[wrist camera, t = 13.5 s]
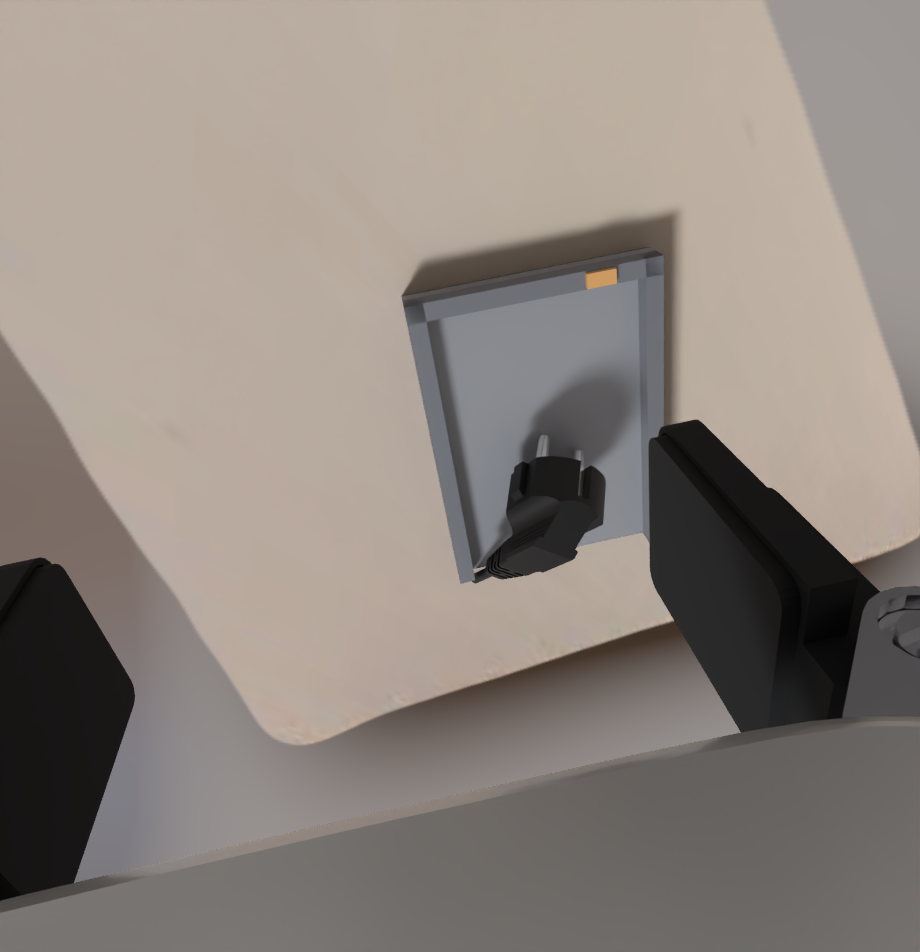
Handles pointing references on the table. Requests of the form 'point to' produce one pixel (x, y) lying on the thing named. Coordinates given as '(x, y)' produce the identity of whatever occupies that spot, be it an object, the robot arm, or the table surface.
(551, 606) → the table surface
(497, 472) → the dock
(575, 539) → the power plug
